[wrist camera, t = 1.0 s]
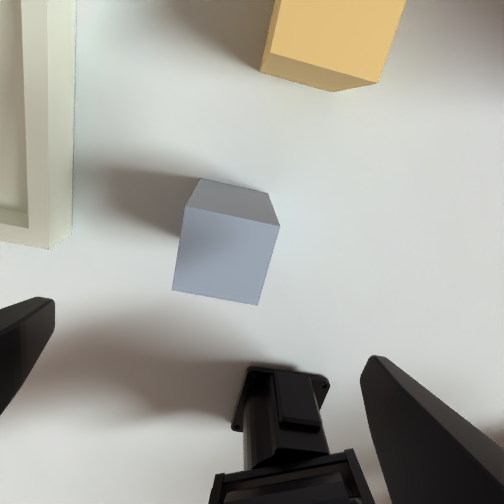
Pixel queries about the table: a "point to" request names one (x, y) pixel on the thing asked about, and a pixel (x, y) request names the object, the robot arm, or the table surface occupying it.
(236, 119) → the table surface
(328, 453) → the robot arm
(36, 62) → the tray
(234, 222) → the slate block
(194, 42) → the table surface
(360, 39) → the ochre block
